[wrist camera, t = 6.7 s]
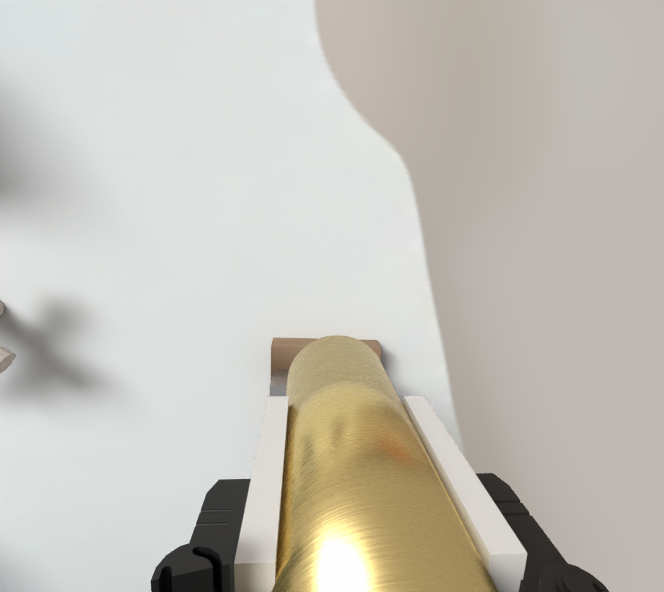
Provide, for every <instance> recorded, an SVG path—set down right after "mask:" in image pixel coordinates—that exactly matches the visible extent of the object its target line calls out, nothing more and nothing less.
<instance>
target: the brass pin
mask: <svg viewBox="0 0 664 592" xmlns="http://www.w3.org/2000/svg"><path fill="white" fill-rule="evenodd" d="M286 396H289V408H288V421H287V434H286V447H285V460H284V473H283V486H282V500H281V513H280V526H279V539H278V552H277V565H276V578H275V585H274V587H273V589H272V592H498V590H497V588H496V586H495V584H494V582H493V580H492V578H491V576H490V574H489V572H488V570H487V568H486V566H485V564H484V563H483V561H482V559H481V557H480V555H479V553H478V551H477V549H476V547H475V545H474V543H473V541H472V539H471V537H470V535H469V533H468V531H467V529H466V527H465V525H464V523H463V522H462V520H461V518H460V516H459V514H458V512H457V510H456V508H455V506H454V504H453V502H452V500H451V498H450V496H449V494H448V492H447V490H446V488H445V486H444V484H443V483H442V481H441V479H440V477H439V475H438V473H437V471H436V469H435V467H434V465H433V463H432V461H431V459H430V457H429V455H428V453H427V451H426V449H425V447H424V445H423V444H422V442H421V440H420V438H419V436H418V434H417V432H416V430H415V428H414V426H413V424H412V422H411V420H410V418H409V416H408V414H407V412H406V410H405V408H404V406H403V404H402V403H401V401H400V399H399V397H398V395H397V393H396V391H395V389H394V387H393V385H392V383H391V381H390V379H389V377H388V375H387V373H386V371H385V369H384V367H383V365H382V364H381V362H380V360H379V358H378V356H377V355H376V353H375V352H374V351H373V350H372V349H371V348H370V347H369V346H368V345H366V344H365V343H363V342H361V341H359V340H357V339H355V338H352V337H347V336H328V337H324V338H320V339H318V340H315V341H313V342H312V343H310V344H308V345H307V346H306V347H304V348H303V349H302V350H301V351H300V352H299V353H298V354H297V356H296V357H295V358H294V360H293V362H292V364H291V366H290V369H289V373H288V379H287V390H286Z"/></svg>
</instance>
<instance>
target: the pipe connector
mask: <svg viewBox="0 0 664 592" xmlns="http://www.w3.org/2000/svg"><path fill="white" fill-rule="evenodd" d="M3 313H4V305H3V303H2V302H1V301H0V316H1V315H2V314H3ZM15 356H16V355H15V354H14V353H13V352H11V351H9V350H7V349H5V348H4V347H2V346H0V373H1V372H3V371H4V370H5V369H6V368H7V367H8V366H9V365H10V364H11V363H12V362H13V360H14V358H15Z"/></svg>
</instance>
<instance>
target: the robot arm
mask: <svg viewBox="0 0 664 592" xmlns="http://www.w3.org/2000/svg"><path fill="white" fill-rule="evenodd" d="M403 406H404V408H405V410H406V412H407V414H408V416H409V418H410V420H411V422H412V424H413V426H414V428H415V430H416V432H417V434H418V436H419V438H420V440H421V442H422V444H423V445H424V447H425V449H426V451H427V453H428V455H429V457H430V459H431V461H432V463H433V465H434V467H435V469H436V471H437V473H438V475H439V477H440V479H441V481H442V483H443V484H444V486H445V488H446V490H447V492H448V494H449V496H450V498H451V500H452V502H453V504H454V506H455V508H456V510H457V512H458V514H459V516H460V518H461V520H462V522H463V523H464V525H465V527H466V529H467V531H468V533H469V535H470V537H471V539H472V541H473V543H474V545H475V547H476V549H477V551H478V553H479V555H480V557H481V559H482V561H483V563H484V564H485V566H486V568H487V570H488V572H489V574H490V576H491V578H492V580H493V582H494V584H495V586H496V588H497V590H498V592H609V591H608V590H607V588H606V587H605V586H604V585H603V584H602V583H601V582H600V581H599V580H597V579H596V578H595V577H594V576H593V575H591V574H590V573H588V572H586V571H584V570H582V569H580V568H579V567H577V566H574V565H571V564H568V563H567V562H566V561H565V560H564V558H563V557H562V556H561V554H560V553H559V552H558V550H557V549H556V548H555V546H554V545H553V544H552V542H551V541H550V539H549V538H548V537H547V535H546V534H545V533H544V531H543V530H542V529H541V527H540V526H539V525H538V524H537V522H536V521H535V519H534V518H533V517H532V516H530V515H529V511H528V510H527V509H526V508H525V506H524V505H523V503H520V500H519V498H518V497H517V495H516V494H515V493H514V491H513V490H512V489H511V488H510V486H509V485H508V484H506V483H505V482H504V481H502V480H501V479H500V478H498V477H497V476H496V475H494V474H493V473H487V474H486V473H484V474H475V472H474V471H473V469H472V468H471V466H470V465H469V463H468V462H467V460H466V459H465V457H464V456H463V454H462V453H461V451H460V450H459V448H458V446H457V445H456V443H455V442H454V440H453V439H452V437H451V436H450V434H449V433H448V431H447V430H446V428H445V427H444V425H443V424H442V422H441V421H440V419H439V418H438V416H437V414H436V413H435V411H434V410H433V408H432V407H431V405H430V404H429V402H428V401H427V399H426V398H425V396H404V404H403ZM288 408H289V396H267V400H266V405H265V410H264V415H263V420H262V425H261V430H260V435H259V440H258V446H257V451H256V456H255V461H254V466H253V471H252V476H251V479H227V480H218V481H217V482H216V484H215V485H214V486H213V487H212V488H211V489H210V490H209V491H208V492H207V494H206V497H205V500H204V503H203V505H202V508H201V513H200V514H199V517H198V520H197V523H196V527H195V529H194V531H193V534H192V537H191V540H190V543H189V544H186V545H183V546H180V547H178V548H177V549H175V550H174V551H172V552H171V553H169V554H168V555H166V556H165V558H164V559H163V560H162V561H161V562H160V563H159V565H158V566H157V567H156V569H155V571H154V574H153V576H152V579H151V591H152V592H272V589H273V587H274V585H275V578H276V565H277V552H278V539H279V526H280V513H281V500H282V486H283V473H284V460H285V447H286V434H287V421H288Z"/></svg>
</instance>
